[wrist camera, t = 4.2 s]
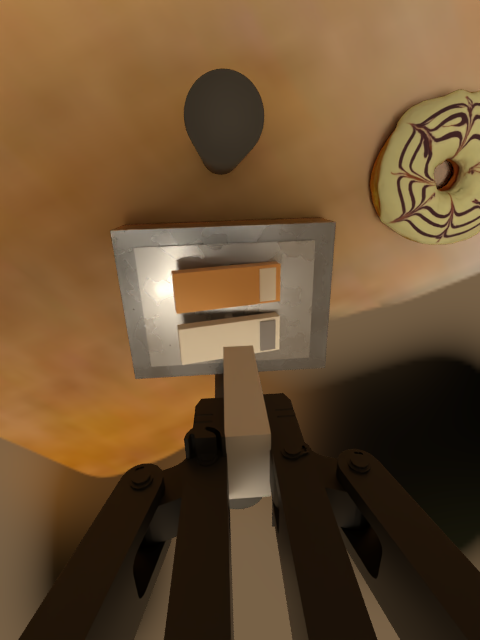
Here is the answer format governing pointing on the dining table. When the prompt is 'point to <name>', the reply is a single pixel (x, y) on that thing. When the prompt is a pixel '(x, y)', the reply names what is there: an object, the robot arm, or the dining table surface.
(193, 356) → the paddle ivory
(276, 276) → the paddle orange
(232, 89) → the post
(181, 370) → the breaker box
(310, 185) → the dining table surface
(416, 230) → the decorated donut
